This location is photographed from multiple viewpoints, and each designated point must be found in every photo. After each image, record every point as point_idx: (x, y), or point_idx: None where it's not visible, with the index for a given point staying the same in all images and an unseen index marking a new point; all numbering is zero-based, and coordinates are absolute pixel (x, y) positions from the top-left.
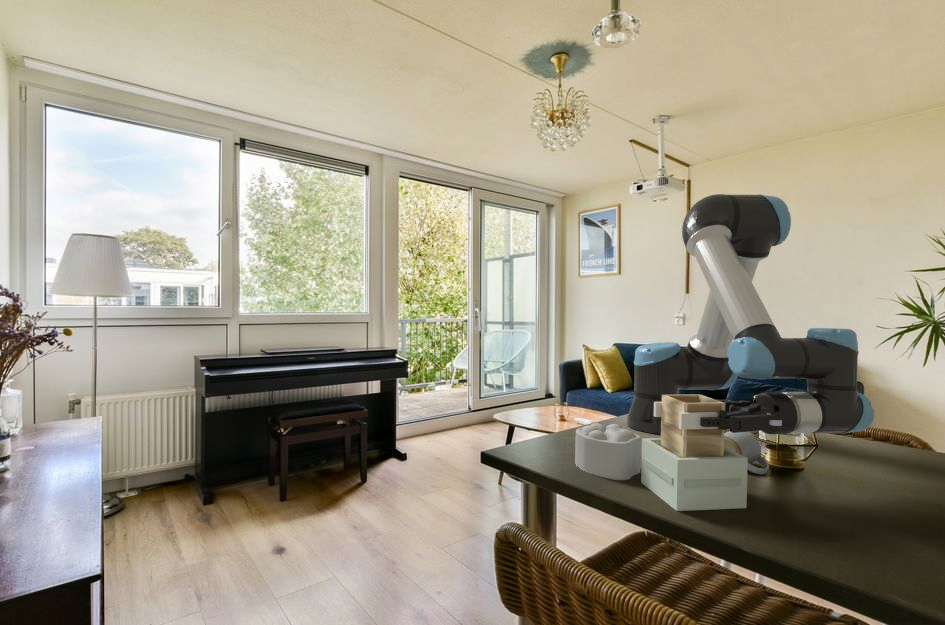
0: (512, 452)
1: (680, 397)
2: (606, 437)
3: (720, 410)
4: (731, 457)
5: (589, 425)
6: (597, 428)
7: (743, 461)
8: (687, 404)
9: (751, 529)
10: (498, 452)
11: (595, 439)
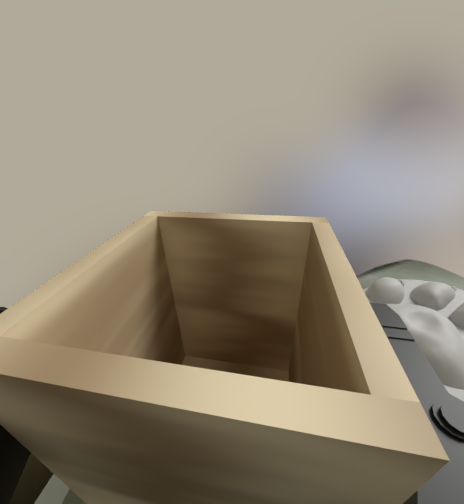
0: (433, 277)
1: (323, 273)
2: (378, 300)
3: (3, 308)
4: (50, 497)
5: (442, 284)
6: (431, 294)
7: None
8: (145, 218)
9: (32, 473)
10: (424, 266)
11: (368, 287)
